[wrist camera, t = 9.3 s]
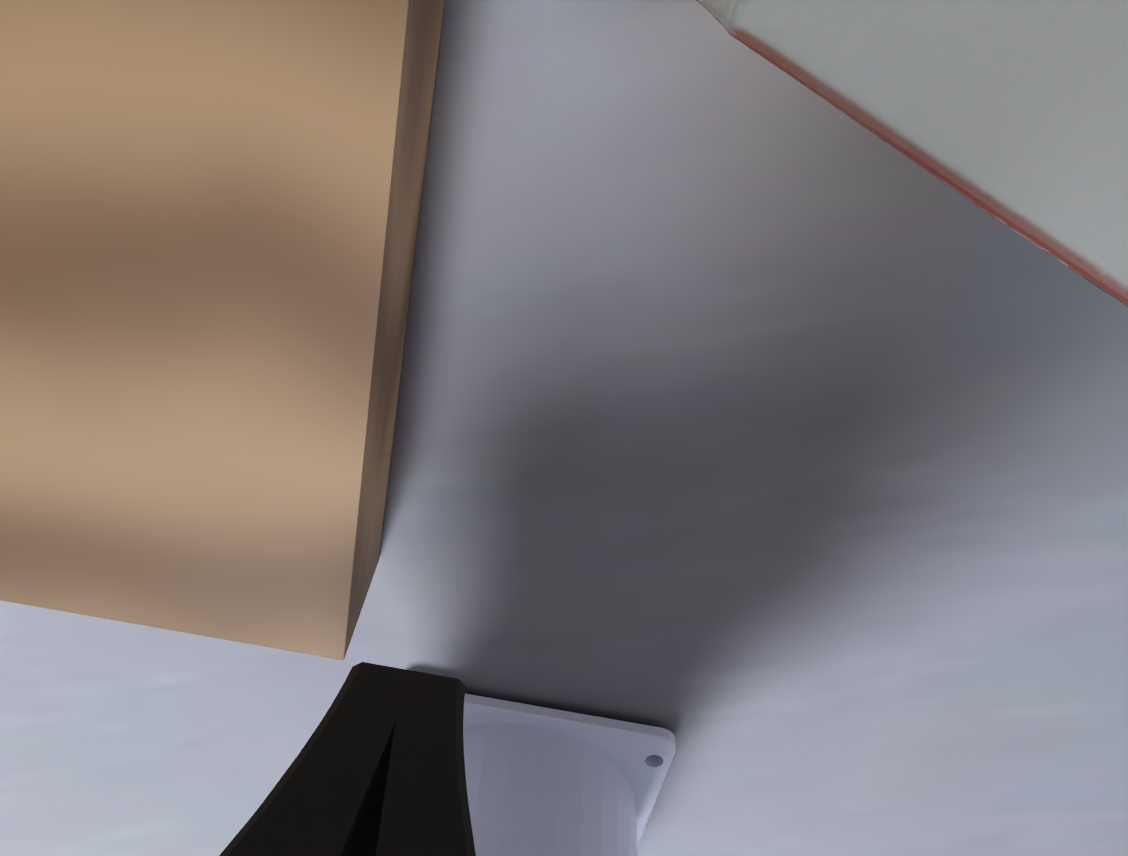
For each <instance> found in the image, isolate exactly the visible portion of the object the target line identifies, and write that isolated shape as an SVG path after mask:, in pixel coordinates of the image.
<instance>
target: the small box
mask: <svg viewBox="0 0 1128 856" xmlns="http://www.w3.org/2000/svg"><path fill="white" fill-rule="evenodd" d="M697 1H698V2H699V3H700V4H702V5H703V6H704V7H705V8H706V9H707V10H708V11H709V12H710V13H711V14H712V15H713V16H714V17H715V18H716V19H717V21H718V22H719V23H720V24H721V25H722V26H723V27H724V28H725V29H726V30H727V32H728V33H729V34H730V35H731V36H733V37H734V38H736V39H737V40H739V41H740V42H742V43H743V44H745V45H746V46H748V47H749V48H750V49H752V50H753V51H755V52H756V53H758V54H759V55H761V56H762V57H764V58H765V59H767V60H768V61H770V62H771V63H773V64H774V65H776V66H777V67H779V68H780V69H781V70H783V71H784V72H786V73H787V74H789V75H790V76H792V77H793V78H794V79H796V80H797V81H799V82H800V83H802V84H803V85H805V86H806V87H807V88H809V89H810V90H812V91H813V92H815V93H816V94H818V95H819V96H820V97H822V98H823V99H825V100H826V101H828V102H829V103H831V104H832V105H833V106H835V107H836V108H838V109H839V110H841V111H842V112H844V113H845V114H846V115H848V116H849V117H851V118H852V119H854V120H855V121H857V122H858V123H860V124H861V125H862V126H864V127H865V128H867V129H868V130H870V131H871V132H873V133H874V134H875V135H877V136H878V137H880V138H881V139H883V140H884V141H886V142H887V143H888V144H890V145H891V146H893V147H894V148H896V149H897V150H899V151H900V152H901V153H903V154H904V155H906V156H907V157H909V158H910V159H911V160H913V161H914V162H916V163H917V164H919V165H920V166H921V167H923V168H924V169H926V170H927V171H928V172H930V173H931V174H933V175H934V176H936V177H937V178H938V179H940V180H941V181H943V182H944V183H946V184H947V185H948V186H950V187H951V188H953V189H954V190H956V191H957V192H958V193H960V194H961V195H963V196H964V197H965V198H967V199H968V200H970V201H971V202H973V203H974V204H975V205H977V206H978V207H980V208H981V209H983V210H984V211H985V212H987V213H988V214H990V215H991V216H993V217H994V218H996V219H997V220H999V221H1000V222H1002V223H1003V224H1004V225H1006V226H1007V227H1009V228H1010V229H1012V230H1013V231H1015V232H1016V233H1018V234H1019V235H1021V236H1022V237H1024V238H1025V239H1027V240H1028V241H1030V242H1031V243H1033V244H1034V245H1036V246H1037V247H1039V248H1040V249H1042V250H1043V251H1045V252H1046V253H1048V254H1049V255H1051V256H1052V257H1054V258H1055V259H1057V260H1058V261H1060V262H1061V263H1063V264H1064V265H1066V266H1067V267H1069V268H1070V269H1072V270H1073V271H1075V272H1076V273H1078V274H1079V275H1081V276H1082V277H1084V278H1085V279H1087V280H1088V281H1089V282H1091V283H1092V284H1094V285H1096V286H1097V287H1099V288H1100V289H1102V290H1103V291H1105V292H1106V293H1108V294H1109V295H1111V296H1112V297H1114V298H1115V299H1117V300H1118V301H1120V302H1121V303H1123V304H1124V305H1126V306H1127V307H1128V0H697Z"/></svg>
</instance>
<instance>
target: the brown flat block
mask: <svg viewBox="0 0 1128 856" xmlns="http://www.w3.org/2000/svg"><path fill="white" fill-rule="evenodd" d="M444 1H445V0H0V600H2V601H8V602H14V603H20V604H25V605H31V606H37V607H42V608H48V609H54V610H59V611H65V612H71V613H77V614H82V615H88V616H94V617H99V618H105V619H111V620H117V621H122V622H128V623H134V624H139V625H145V626H151V627H157V628H162V629H168V630H174V631H179V632H185V633H191V634H197V635H202V636H208V637H214V638H219V639H225V640H231V641H236V642H242V643H248V644H254V645H259V646H265V647H271V648H276V649H282V650H288V651H294V652H299V653H305V654H311V655H316V656H322V657H328V658H334V659H339V660H344V658H345V655H346V652H347V649H348V646H349V643H350V640H351V638H352V635H353V632H354V629H355V626H356V623H357V621H358V618H359V615H360V612H361V609H362V606H363V603H364V601H365V598H366V595H367V592H368V589H369V586H370V584H371V581H372V578H373V575H374V572H375V569H376V566H377V564H378V561H379V554H380V545H381V537H382V528H383V520H384V511H385V503H386V494H387V486H388V477H389V469H390V460H391V452H392V443H393V435H394V426H395V418H396V409H397V401H398V392H399V384H400V375H401V367H402V358H403V350H404V341H405V333H406V324H407V316H408V307H409V299H410V290H411V282H412V273H413V265H414V256H415V248H416V239H417V231H418V222H419V214H420V205H421V197H422V188H423V180H424V171H425V163H426V154H427V146H428V137H429V129H430V120H431V112H432V103H433V95H434V86H435V78H436V69H437V61H438V52H439V44H440V35H441V27H442V18H443V10H444Z"/></svg>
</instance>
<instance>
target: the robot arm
mask: <svg viewBox="0 0 1128 856" xmlns="http://www.w3.org/2000/svg"><path fill="white" fill-rule="evenodd" d="M465 690H466V687H465V686H464V685H463V683H462V682H461V681H460V680H459V679H456V678H450V677H444V676H438V675H433V674H427V673H421V672H416V671H410V670H404V669H399V668H393V667H387V666H381V665H376V664H370V663H364V662H362V663H360V664H358V665H356V666H354V667H352V669H351V671H350V673H349V675H348V677H347V679H346V681H345V683H344V684H343V686H342V688H341V690H340V691H339V693H338V695H337V697H336V698H335V700H334V702H333V703H332V705H331V707H330V708H329V710H328V711H327V713H326V715H325V716H324V718H323V719H322V721H321V722H320V724H319V726H318V727H317V728H316V730H315V731H314V733H313V734H312V736H311V737H310V739H309V740H308V742H307V743H306V745H305V746H304V748H303V749H302V750H301V752H300V753H299V755H298V756H297V757H296V759H295V760H294V762H293V763H292V764H291V766H290V767H289V768H288V770H287V771H286V772H285V774H284V775H283V776H282V778H281V779H280V780H279V782H278V783H277V784H276V786H275V787H274V788H273V790H272V791H271V792H270V794H269V795H268V796H267V798H266V799H265V800H264V802H263V803H262V804H261V806H260V807H259V808H258V810H257V811H256V812H255V813H254V815H253V816H252V817H251V818H250V820H249V821H248V822H247V823H246V824H245V826H244V827H243V828H242V829H241V830H240V832H239V833H238V834H237V835H236V836H235V838H234V839H233V840H232V841H231V842H230V844H229V845H228V846H227V847H226V848H225V850H224V851H223V852H222V853H221V854H220V856H637V847H638V844H639V842H640V839H641V837H642V834H643V832H644V829H645V827H646V824H647V822H648V819H649V817H650V814H651V812H652V809H653V807H654V804H655V802H656V799H657V797H658V794H659V792H660V789H661V787H662V784H663V782H664V779H665V777H666V774H667V772H668V769H669V767H670V764H671V761H672V759H673V756H674V754H675V751H676V740H675V736H674V734H673V733H672V732H670V731H669V730H667V729H664V728H660V727H655V726H649V725H643V724H637V723H632V722H626V721H620V720H614V719H609V718H603V717H597V716H592V715H586V714H580V713H574V712H569V711H563V710H557V709H551V708H546V707H540V706H534V705H528V704H523V703H517V702H511V701H505V700H500V699H494V698H488V697H483V696H477V695H471V694H465ZM651 755H657V756H651Z"/></svg>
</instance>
